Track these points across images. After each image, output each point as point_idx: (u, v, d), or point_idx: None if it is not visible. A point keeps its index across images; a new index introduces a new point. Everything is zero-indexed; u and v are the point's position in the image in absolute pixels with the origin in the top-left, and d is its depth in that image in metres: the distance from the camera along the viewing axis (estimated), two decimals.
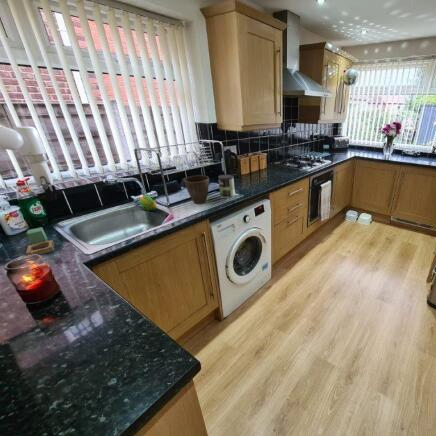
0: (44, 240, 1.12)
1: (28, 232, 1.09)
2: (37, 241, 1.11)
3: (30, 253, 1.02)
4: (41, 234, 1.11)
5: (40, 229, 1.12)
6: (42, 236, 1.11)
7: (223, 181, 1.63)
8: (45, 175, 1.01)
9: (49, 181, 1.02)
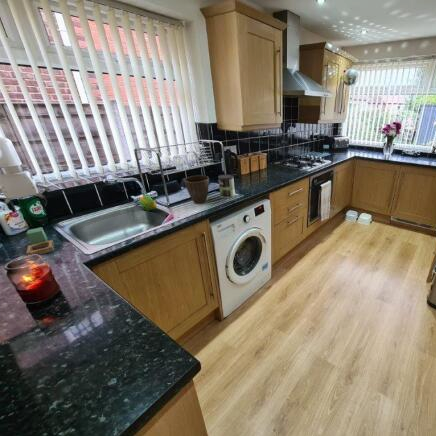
0: (44, 240, 1.12)
1: (28, 232, 1.09)
2: (37, 241, 1.11)
3: (30, 253, 1.02)
4: (41, 234, 1.11)
5: (40, 229, 1.12)
6: (42, 236, 1.11)
7: (223, 181, 1.63)
8: (1, 188, 0.99)
9: (4, 194, 0.99)
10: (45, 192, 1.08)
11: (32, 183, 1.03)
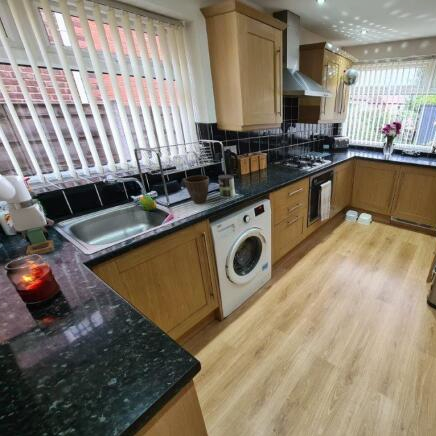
0: (44, 240, 1.12)
1: (28, 232, 1.09)
2: (37, 241, 1.11)
3: (30, 253, 1.02)
4: (41, 234, 1.11)
5: (40, 229, 1.12)
6: (42, 236, 1.11)
7: (223, 181, 1.63)
8: None
9: (14, 227, 1.05)
10: (48, 226, 1.13)
11: (41, 215, 1.09)
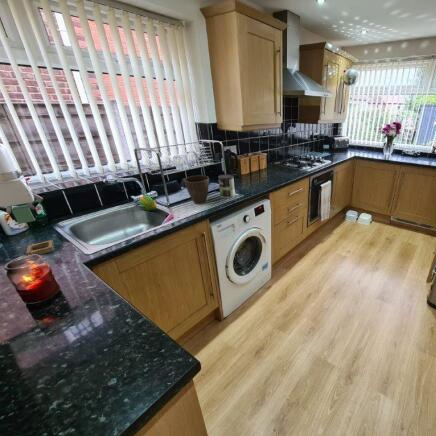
0: (32, 218, 1.01)
1: (13, 209, 0.98)
2: (24, 219, 0.99)
3: (30, 253, 1.02)
4: (28, 211, 1.00)
5: (27, 206, 1.00)
6: (29, 214, 1.00)
7: (223, 181, 1.63)
8: None
9: None
10: (36, 203, 1.01)
11: (28, 190, 0.98)
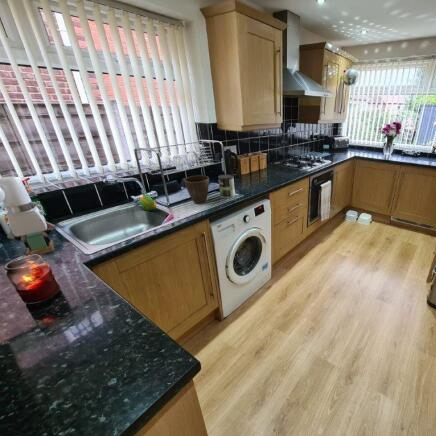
0: (44, 245, 1.05)
1: (27, 237, 1.02)
2: (37, 247, 1.04)
3: (30, 253, 1.02)
4: (41, 239, 1.04)
5: (40, 234, 1.05)
6: (42, 241, 1.04)
7: (223, 181, 1.63)
8: (10, 226, 0.97)
9: (13, 232, 0.98)
10: (48, 231, 1.06)
11: (41, 219, 1.02)
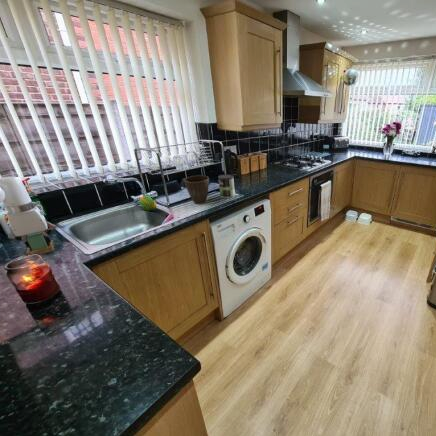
0: (45, 245, 1.05)
1: (28, 237, 1.02)
2: (38, 246, 1.04)
3: (30, 253, 1.02)
4: (42, 239, 1.04)
5: (41, 234, 1.05)
6: (43, 241, 1.04)
7: (223, 181, 1.63)
8: None
9: (13, 232, 0.98)
10: (49, 231, 1.06)
11: (42, 219, 1.02)
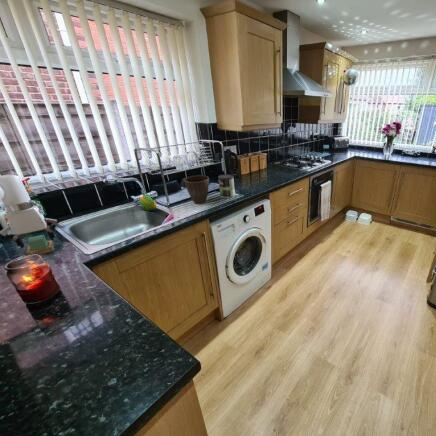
0: None
1: (29, 240, 1.03)
2: None
3: (30, 253, 1.02)
4: (43, 242, 1.04)
5: (42, 237, 1.05)
6: (44, 244, 1.05)
7: (223, 181, 1.63)
8: (9, 225, 0.97)
9: (12, 230, 0.98)
10: (53, 226, 1.06)
11: (41, 218, 1.02)
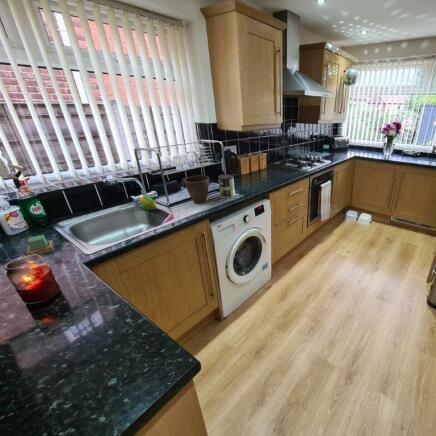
0: None
1: (29, 240, 1.03)
2: None
3: (30, 253, 1.02)
4: (43, 242, 1.04)
5: (42, 237, 1.05)
6: (44, 244, 1.05)
7: (223, 181, 1.63)
8: None
9: None
10: (18, 173, 1.00)
11: (3, 162, 0.95)
